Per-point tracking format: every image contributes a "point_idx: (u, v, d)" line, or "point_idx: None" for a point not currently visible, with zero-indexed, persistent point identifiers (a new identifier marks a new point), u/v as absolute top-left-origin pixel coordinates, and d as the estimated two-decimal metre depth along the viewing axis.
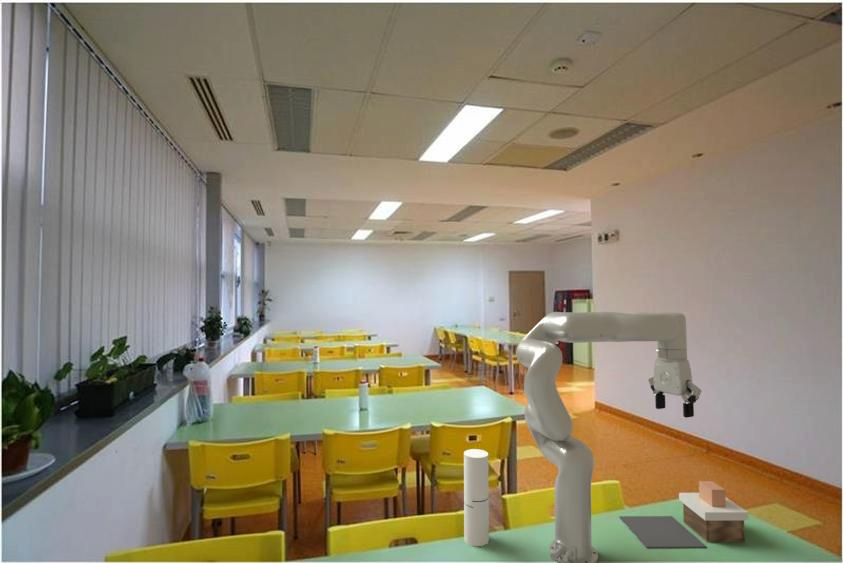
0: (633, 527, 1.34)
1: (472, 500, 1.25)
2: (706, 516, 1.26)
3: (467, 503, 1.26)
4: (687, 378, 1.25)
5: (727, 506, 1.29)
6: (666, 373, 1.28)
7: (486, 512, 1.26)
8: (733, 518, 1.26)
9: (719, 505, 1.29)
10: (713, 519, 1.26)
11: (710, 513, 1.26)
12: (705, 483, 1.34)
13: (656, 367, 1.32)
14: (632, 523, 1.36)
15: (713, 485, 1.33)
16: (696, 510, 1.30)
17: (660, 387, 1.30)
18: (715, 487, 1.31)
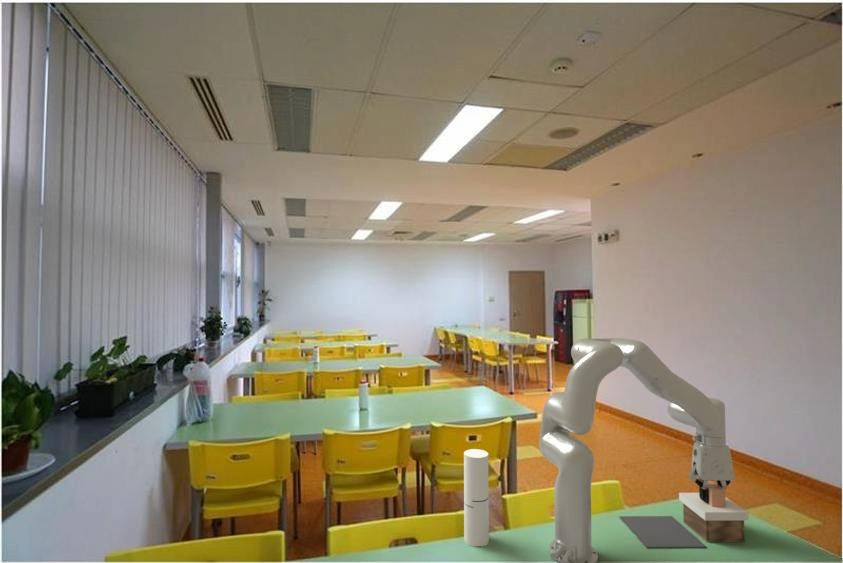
0: (633, 527, 1.34)
1: (472, 500, 1.25)
2: (706, 516, 1.26)
3: (467, 503, 1.26)
4: None
5: (727, 506, 1.29)
6: (718, 461, 1.30)
7: (486, 512, 1.26)
8: (733, 518, 1.26)
9: (719, 505, 1.29)
10: (713, 519, 1.26)
11: (710, 513, 1.26)
12: None
13: (705, 457, 1.30)
14: (632, 523, 1.36)
15: (713, 485, 1.33)
16: (696, 510, 1.30)
17: (711, 476, 1.30)
18: (715, 487, 1.31)
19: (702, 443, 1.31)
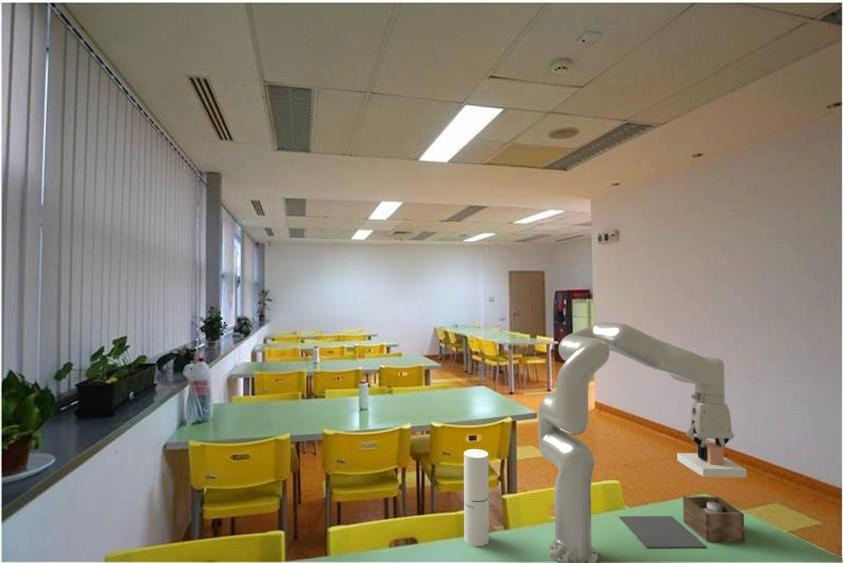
0: (633, 527, 1.34)
1: (472, 500, 1.25)
2: (704, 472, 1.26)
3: (467, 503, 1.26)
4: None
5: (725, 464, 1.30)
6: (717, 418, 1.30)
7: (486, 512, 1.26)
8: (731, 475, 1.26)
9: (717, 463, 1.30)
10: (711, 475, 1.26)
11: (708, 469, 1.26)
12: None
13: (704, 414, 1.30)
14: (632, 523, 1.36)
15: (711, 444, 1.33)
16: (694, 467, 1.30)
17: (710, 434, 1.30)
18: (714, 446, 1.31)
19: (701, 401, 1.32)
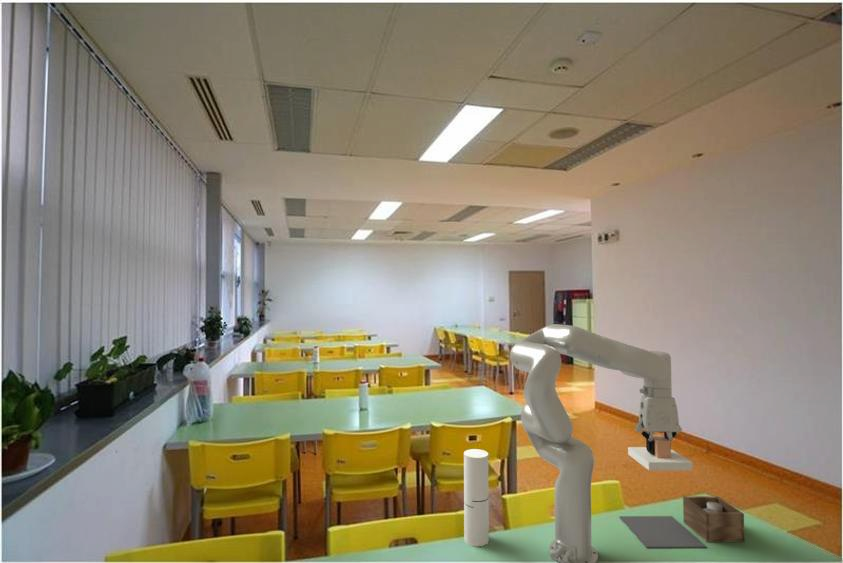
0: (633, 527, 1.34)
1: (472, 500, 1.25)
2: (650, 466, 1.26)
3: (467, 503, 1.26)
4: None
5: (672, 457, 1.30)
6: (664, 412, 1.30)
7: (486, 512, 1.26)
8: (677, 468, 1.26)
9: (664, 456, 1.30)
10: (657, 469, 1.26)
11: (654, 463, 1.26)
12: None
13: (651, 408, 1.31)
14: (632, 523, 1.36)
15: (659, 437, 1.33)
16: (642, 461, 1.30)
17: (657, 427, 1.30)
18: (661, 439, 1.31)
19: (648, 395, 1.32)
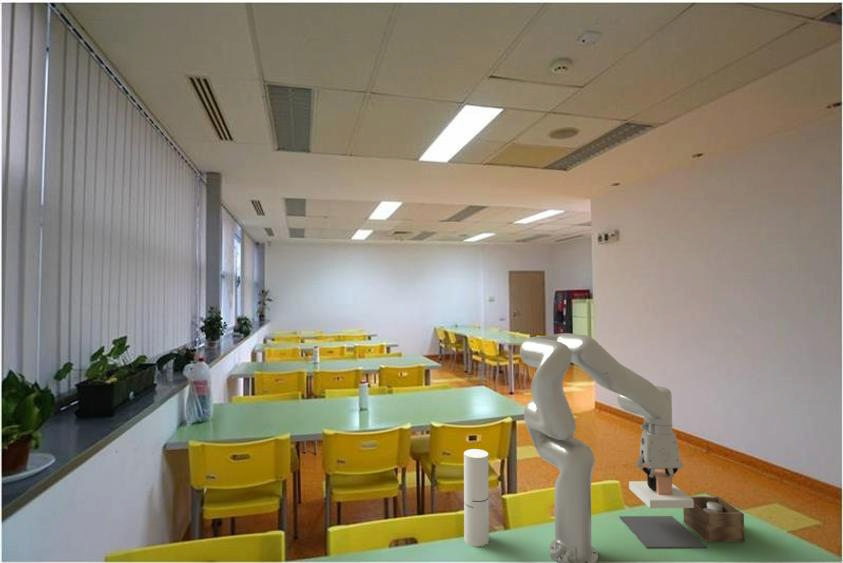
0: (633, 527, 1.34)
1: (472, 500, 1.25)
2: (651, 504, 1.26)
3: (467, 503, 1.26)
4: None
5: (674, 494, 1.30)
6: (665, 449, 1.30)
7: (486, 512, 1.26)
8: (678, 506, 1.26)
9: (665, 493, 1.29)
10: (658, 507, 1.26)
11: (655, 501, 1.26)
12: None
13: (652, 445, 1.30)
14: (632, 523, 1.36)
15: (660, 473, 1.33)
16: (643, 498, 1.30)
17: (658, 464, 1.30)
18: (662, 475, 1.31)
19: (649, 431, 1.32)
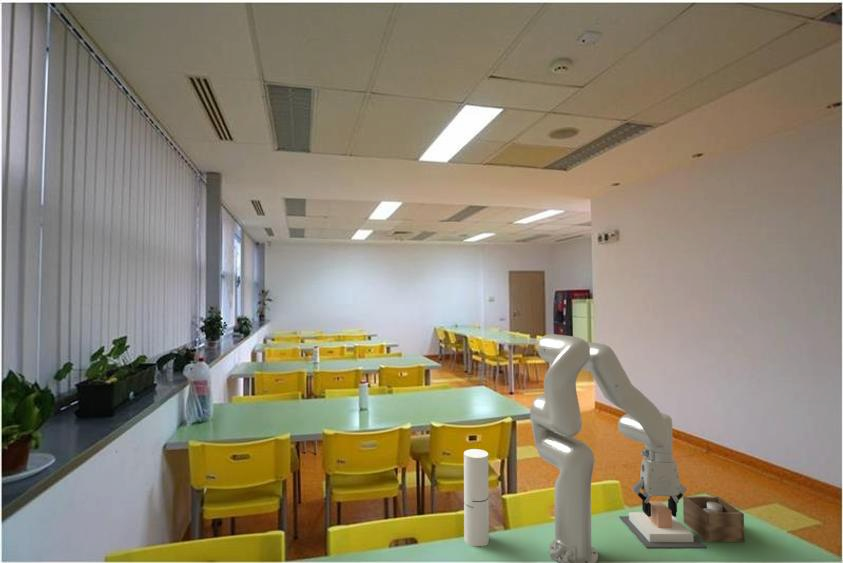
0: (633, 527, 1.34)
1: (472, 500, 1.25)
2: (651, 538, 1.26)
3: (467, 503, 1.26)
4: None
5: (673, 527, 1.29)
6: (665, 476, 1.30)
7: (486, 512, 1.26)
8: (678, 540, 1.26)
9: (665, 526, 1.29)
10: (658, 541, 1.26)
11: (655, 535, 1.26)
12: (653, 503, 1.34)
13: (652, 472, 1.30)
14: (632, 523, 1.36)
15: (660, 505, 1.32)
16: (643, 531, 1.29)
17: (658, 492, 1.30)
18: (662, 508, 1.30)
19: (649, 458, 1.31)
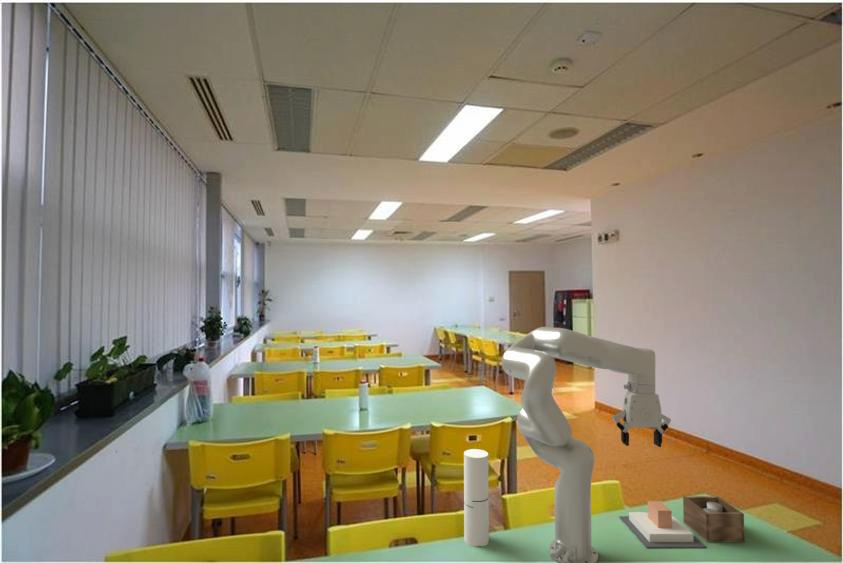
0: (633, 527, 1.34)
1: (472, 500, 1.25)
2: (651, 538, 1.26)
3: (467, 503, 1.26)
4: None
5: (673, 527, 1.29)
6: (647, 408, 1.32)
7: (486, 512, 1.26)
8: (678, 540, 1.26)
9: (665, 526, 1.29)
10: (658, 541, 1.26)
11: (655, 535, 1.26)
12: (653, 503, 1.34)
13: (634, 404, 1.32)
14: (632, 523, 1.36)
15: (660, 505, 1.32)
16: (643, 531, 1.29)
17: (639, 423, 1.32)
18: (662, 508, 1.30)
19: (632, 391, 1.33)
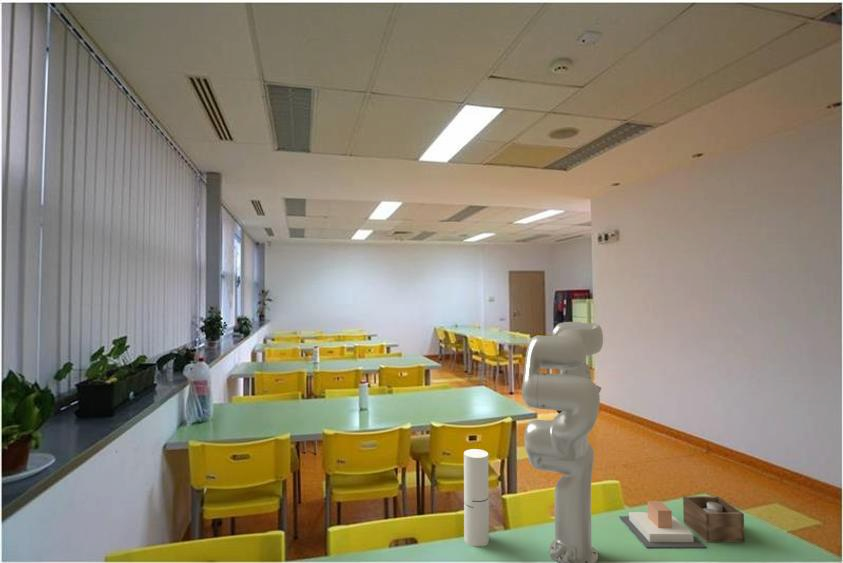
0: (633, 527, 1.34)
1: (472, 500, 1.25)
2: (651, 538, 1.26)
3: (467, 503, 1.26)
4: None
5: (673, 527, 1.29)
6: None
7: (486, 512, 1.26)
8: (678, 540, 1.26)
9: (665, 526, 1.29)
10: (658, 541, 1.26)
11: (655, 535, 1.26)
12: (653, 503, 1.34)
13: (566, 374, 1.39)
14: (632, 523, 1.36)
15: (660, 505, 1.32)
16: (643, 531, 1.29)
17: None
18: (662, 508, 1.30)
19: None
